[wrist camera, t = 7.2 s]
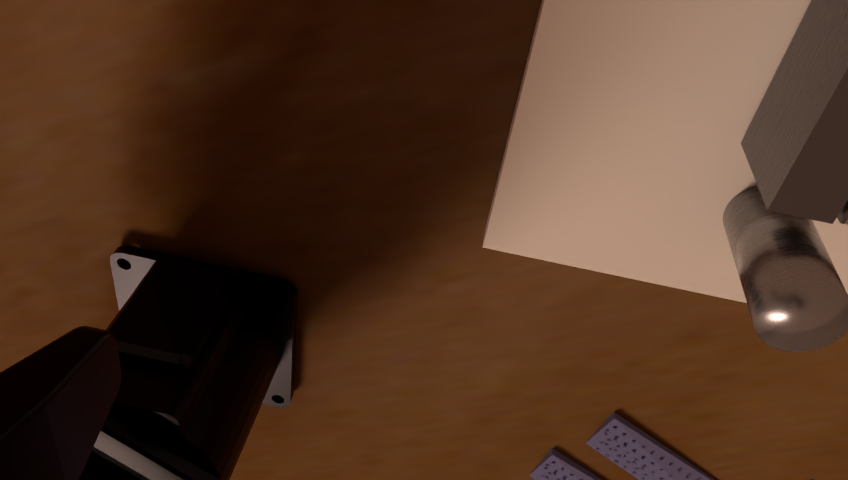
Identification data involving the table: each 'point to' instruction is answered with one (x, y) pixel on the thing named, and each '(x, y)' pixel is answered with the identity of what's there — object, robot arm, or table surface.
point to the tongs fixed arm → (786, 275)
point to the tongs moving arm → (806, 121)
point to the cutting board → (641, 138)
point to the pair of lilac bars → (622, 456)
